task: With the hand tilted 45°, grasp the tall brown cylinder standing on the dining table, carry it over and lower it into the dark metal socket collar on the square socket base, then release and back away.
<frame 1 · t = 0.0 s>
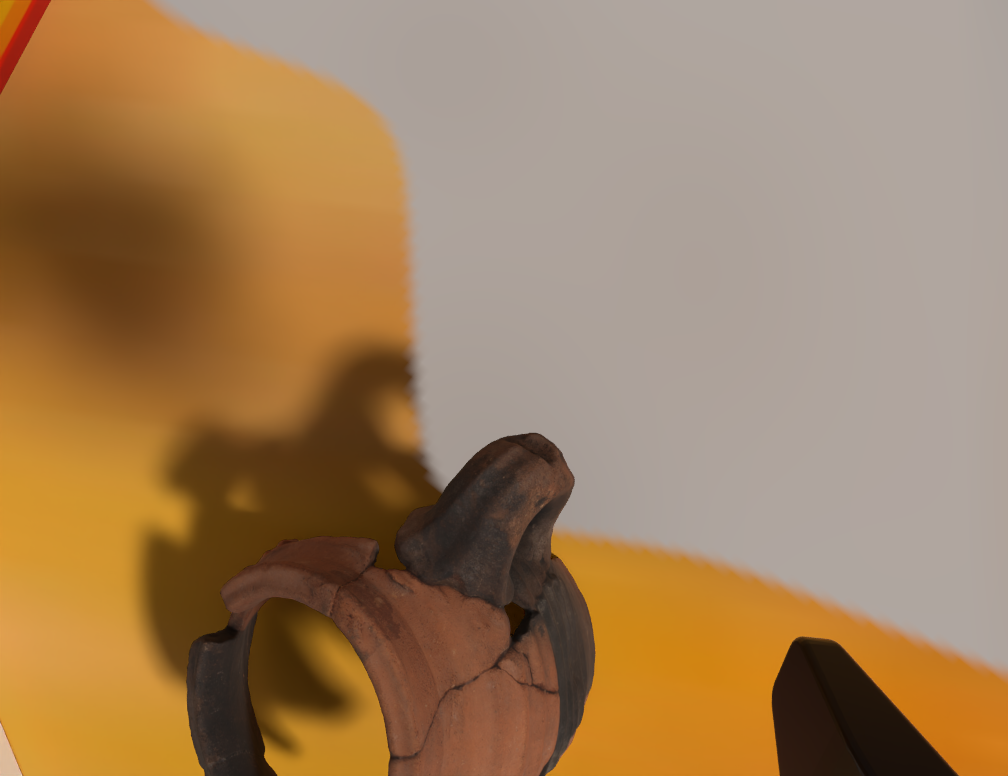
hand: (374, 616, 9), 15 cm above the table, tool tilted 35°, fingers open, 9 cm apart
pottery mug: (439, 606, 24), on the table
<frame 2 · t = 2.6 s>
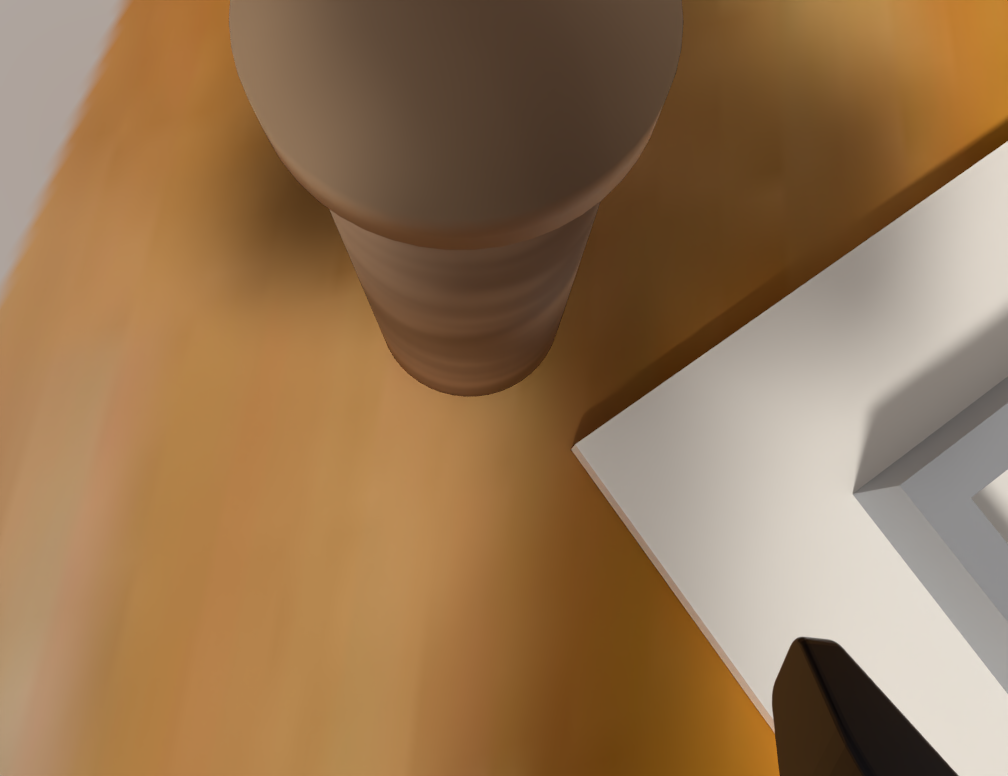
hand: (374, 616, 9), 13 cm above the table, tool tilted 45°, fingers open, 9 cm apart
brown cylinder: (469, 308, 23), on the table
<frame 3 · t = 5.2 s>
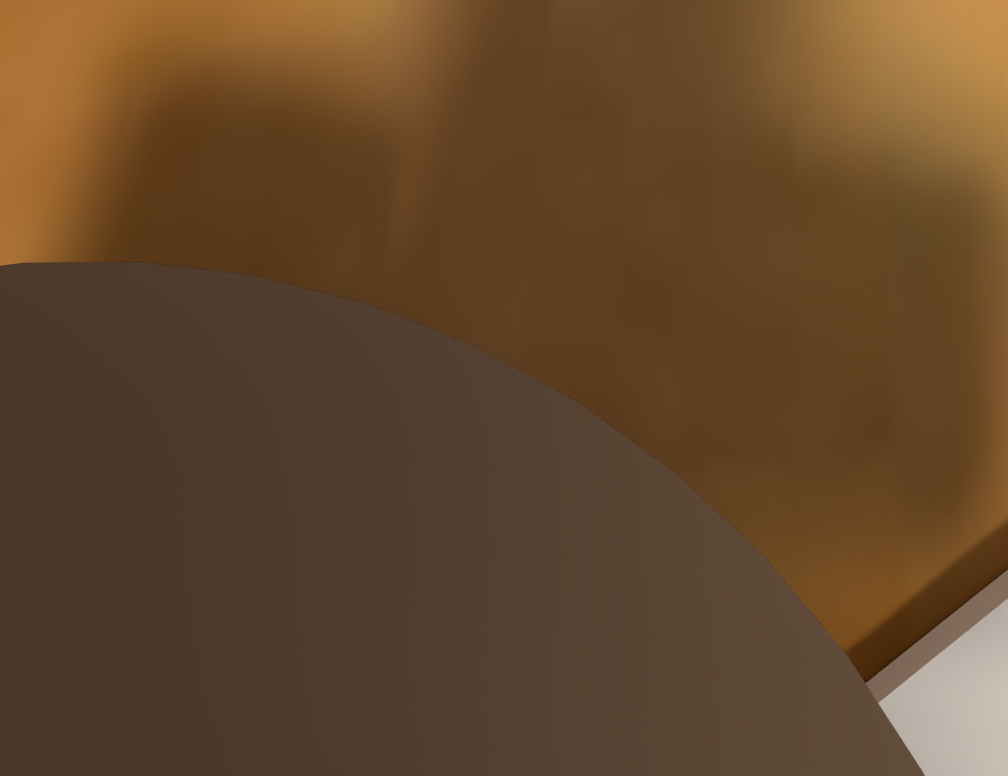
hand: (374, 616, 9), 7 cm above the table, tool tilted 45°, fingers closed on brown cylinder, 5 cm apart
brown cylinder: (410, 671, 15), on the table, touching gripper
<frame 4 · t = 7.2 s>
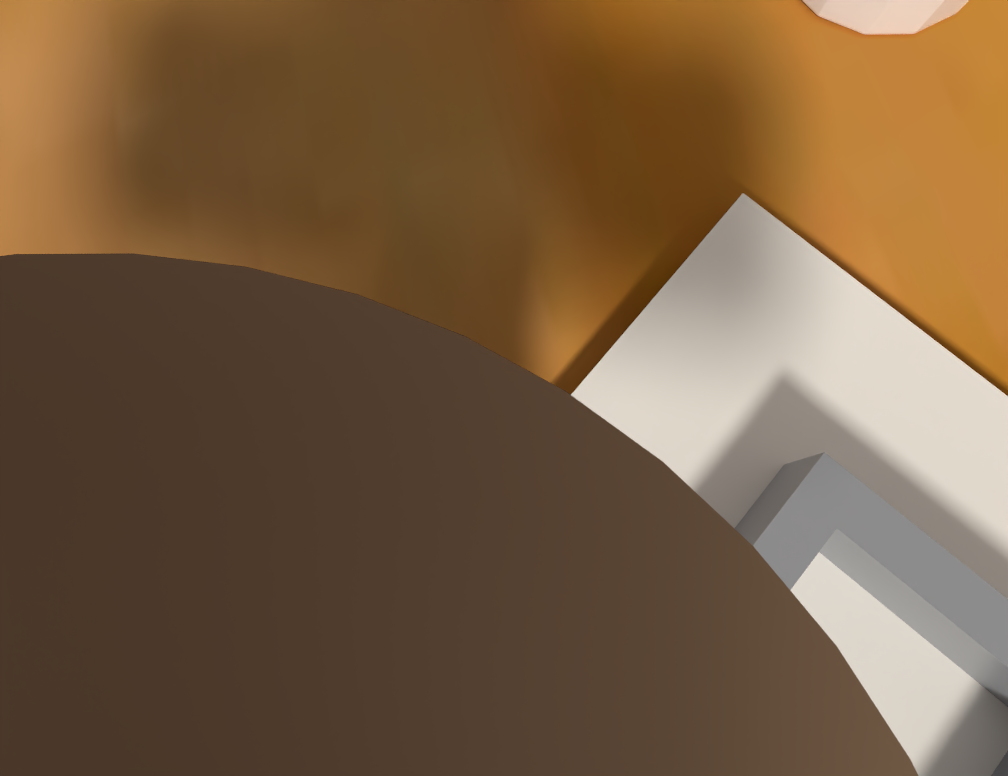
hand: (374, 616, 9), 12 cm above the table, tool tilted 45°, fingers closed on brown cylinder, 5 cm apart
square socket base: (809, 732, 20), on the table
brown cylinder: (409, 669, 15), point 6 cm above the table, touching gripper
when the fingers open (9 cm above the table, at t = 9.1 s): brown cylinder drops 1 cm, resting on square socket base.
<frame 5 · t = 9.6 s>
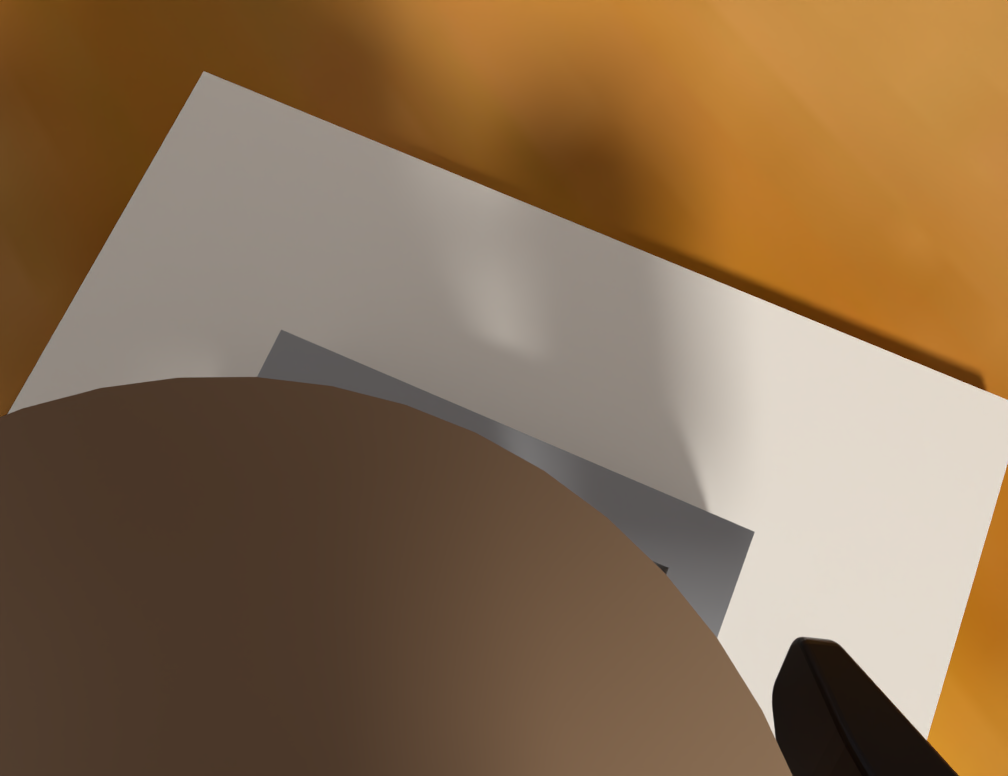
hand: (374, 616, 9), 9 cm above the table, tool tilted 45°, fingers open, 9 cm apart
square socket base: (421, 655, 17), on the table
brown cylinder: (414, 663, 16), point 1 cm above the table, touching square socket base
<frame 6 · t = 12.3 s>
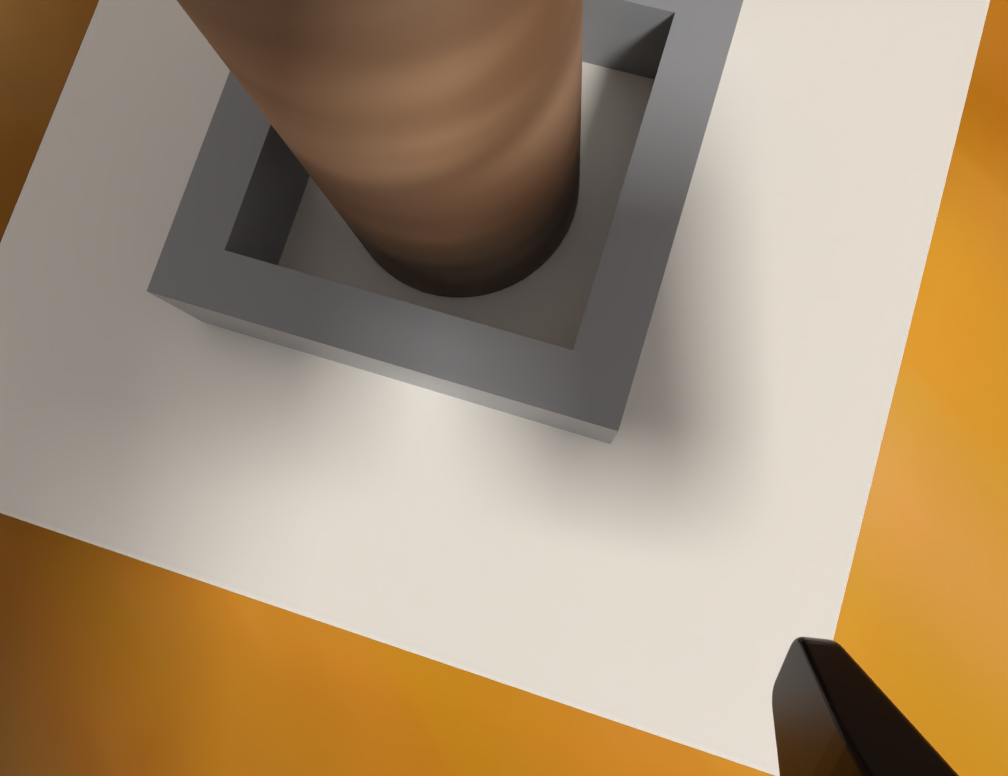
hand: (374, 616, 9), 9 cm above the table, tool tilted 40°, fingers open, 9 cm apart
square socket base: (470, 200, 19), on the table
brown cylinder: (462, 185, 18), point 1 cm above the table, touching square socket base
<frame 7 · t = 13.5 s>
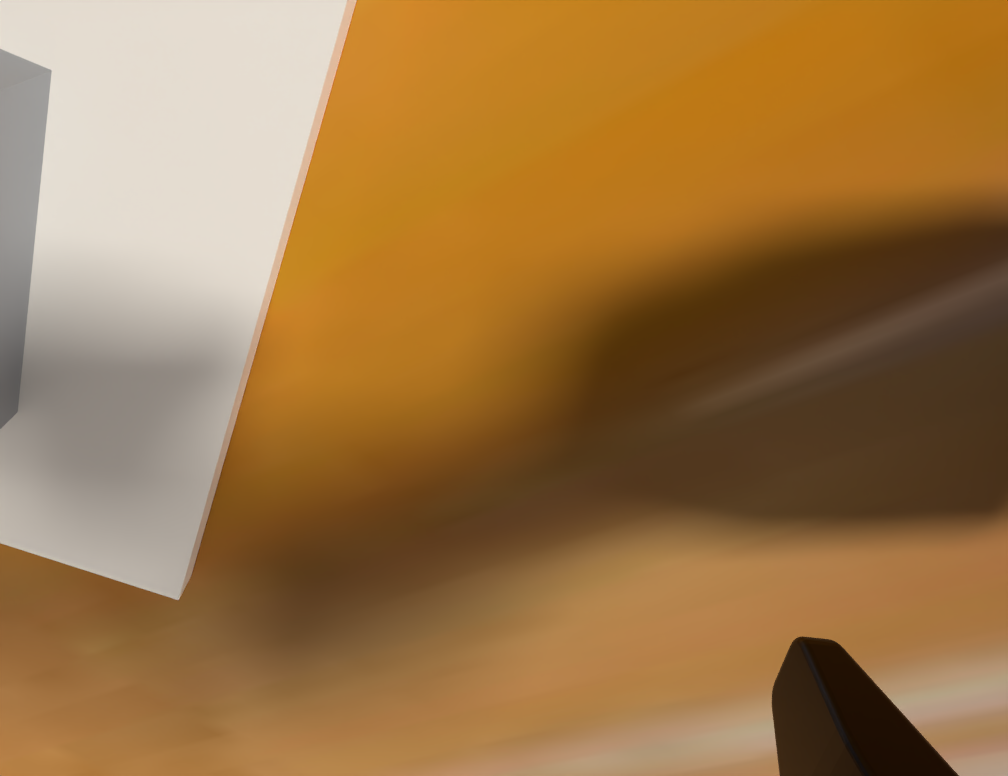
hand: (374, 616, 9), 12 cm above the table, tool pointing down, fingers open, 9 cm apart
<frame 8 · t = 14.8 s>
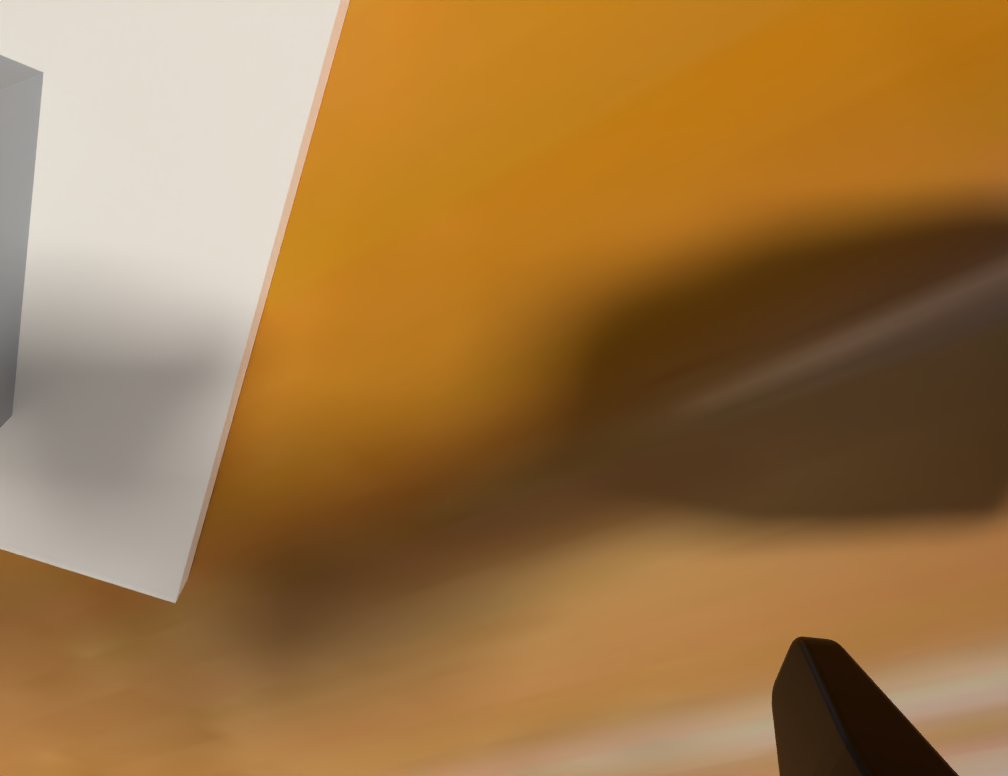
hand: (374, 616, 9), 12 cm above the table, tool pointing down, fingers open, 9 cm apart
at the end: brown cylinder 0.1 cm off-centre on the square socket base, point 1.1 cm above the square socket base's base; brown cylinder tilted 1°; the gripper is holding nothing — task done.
